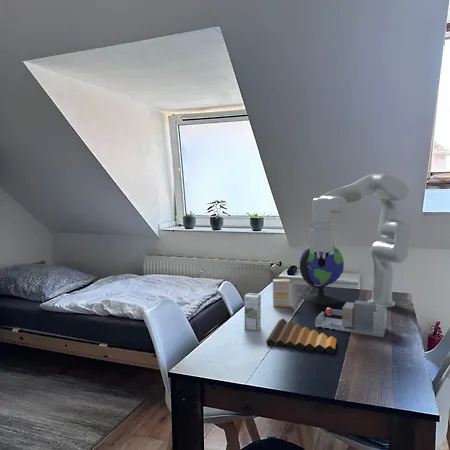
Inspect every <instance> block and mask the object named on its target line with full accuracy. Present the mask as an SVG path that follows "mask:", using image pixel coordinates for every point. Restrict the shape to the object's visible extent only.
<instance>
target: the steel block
mask: <svg viewBox="0 0 450 450" xmlns="http://www.w3.org/2000/svg"><path fill="white" fill-rule="evenodd" d="M353 303H354V311H353V327H356V328H363V329H370V330H373V318H374V311H375V309H376V303H375V302H368V300H367V301H364V300H357V299H356V300H355V301H354V302H353Z"/></svg>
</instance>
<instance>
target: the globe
mask: <svg viewBox="0 0 450 450" xmlns="http://www.w3.org/2000/svg"><path fill="white" fill-rule="evenodd" d="M333 250H334V254H332V255H328V256H327V257H326V265H325V266H324V267H323V268H322V267H319V265H318V258H317V257H316V255H315V254H311V253H310V250H309V246H308V247H306V248H305V249H304V251H303V252H302V254H301V255H300V258H299V272H300V274H301V277H302V278H303V280H304V281H305V283H306V284H308V285H309V286H311V287H313V288H316V289H318V290H317V293H316V292H315V293H314V292H313V293H309V294H306V295H305V296H304V298H303V301H305V303H309V304H314V305H324V306H325V305H326V306H327V304H328V305H333V304H337V303H338V302H339V299H338V297H337V296H335V295H332V294H329V293H325V290H324V288H326V287H328V285H332V284H333V283H335V282H336V281H337V280H338V279H339V278H340V277H341V275H342V274H343V272H344V268H345V261H344V260H345V259H344V257H343V254H342V252H341V251H340V250H339V249H338V248H337V247H336V246H334V249H333ZM321 256H322V257H323V252H321Z"/></svg>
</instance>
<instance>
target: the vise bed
mask: <svg viewBox="0 0 450 450" xmlns="http://www.w3.org/2000/svg"><path fill="white" fill-rule="evenodd" d="M387 309H388V307H379V306H376V309H375V311H374V318H373V330H370V329H363V328H356V327H353V326H352V327H348V326H342V318H340V319H339V318H333V317H325V311H321V312H320V313H319V314H318V315H317V316H316V317H315V321H314V324H315V328H318V327H322V328H321V329H325V328H329V329H328V330H332V329H335V330H334V331H339V330H340V332H345V331H346V333H353V334H361V335H365V336H366V335H367V336H373V337H380V338H384V336H385V333H386V330H387V320H388V319H387V315H388V311H387Z"/></svg>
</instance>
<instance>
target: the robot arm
mask: <svg viewBox="0 0 450 450" xmlns="http://www.w3.org/2000/svg"><path fill="white" fill-rule="evenodd" d="M372 194H374V196H375V198H376V199H377V200H378V202H379V204H380V209H381V211H380V216H379V217H380V218H379V221H378V227H377V234H378V236H379V237H380V238H383V239H389V240H394V242H393V241H389V240H388V241H387V240H377V241H374V242H373V243H372V244H371V246H370V255H371V262H372V264H371V265H372V267H371V268H372V270H371V271H372V273H371V274H372V275H371V276H372V277H371V299H368V300H367V302H375V303H376V306H379V307H387V308H393V307H395V306H396V302H395V301H394V300H393V282H394V281H393V279H394V277H393V275H394V268H393V264H392V263H394V264H402V263H404V262H405V261H406V259H407V258H408V254H409V250H410V246H411V239H412V231H413V229H412V227H411V224H410V222H408V221H406V220H401V219H400V212H401V210H400V209H401V208H400V206H399V203H398V202H400V201H401V202H403V201H404V200H407V198H408V197H409V194H410V189H409V187H408V185H407V184H406V183H405V182H404V181H402V180H401V179H399V178H397V177H395V176H394V175H391V174H388V173H369V174H367V175H365V176H363V177H361V178H360V179H358V180H357V181H354V182H352V183H351V184H348V185H345V186H342V187H339V188H336V189H332V190H331V191H328V192H326V193H324V194H323V195H321V196H320V197H315V198H313V199H312V202H311V203H312V205H311V206H312V207H311V209H312V222H309V227H311V228H310V232H309V242H308V243H309V244H308V247H309V250H310V253H311V254H315V255H316V257H317V258H318V265H319V267H322V268H323V267H324V266H325V265H326V257H327V256H328V255H332V254H334V250H333V249H334V247H335V244H334V233H333V229H332V228H331V214H342V213H344V212H346V210H347V209H348V206H349V205H348V204H349V203H354V202H355V203H356V202H360V201H362V200H364V199H365V198H367V197H368V196H371V195H372ZM321 252H323V257H322V256H321Z"/></svg>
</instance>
